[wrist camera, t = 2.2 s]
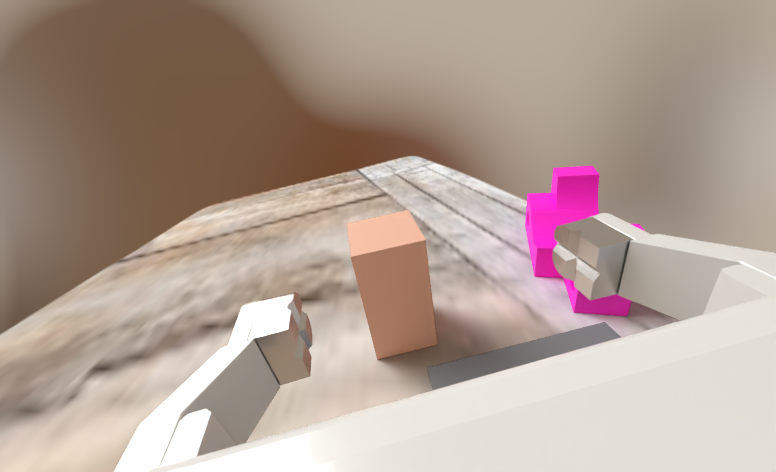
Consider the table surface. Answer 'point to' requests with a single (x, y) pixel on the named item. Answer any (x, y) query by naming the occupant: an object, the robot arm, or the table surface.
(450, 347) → the table surface
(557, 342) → the mat
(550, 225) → the toy block
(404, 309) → the pillar block
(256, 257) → the table surface
